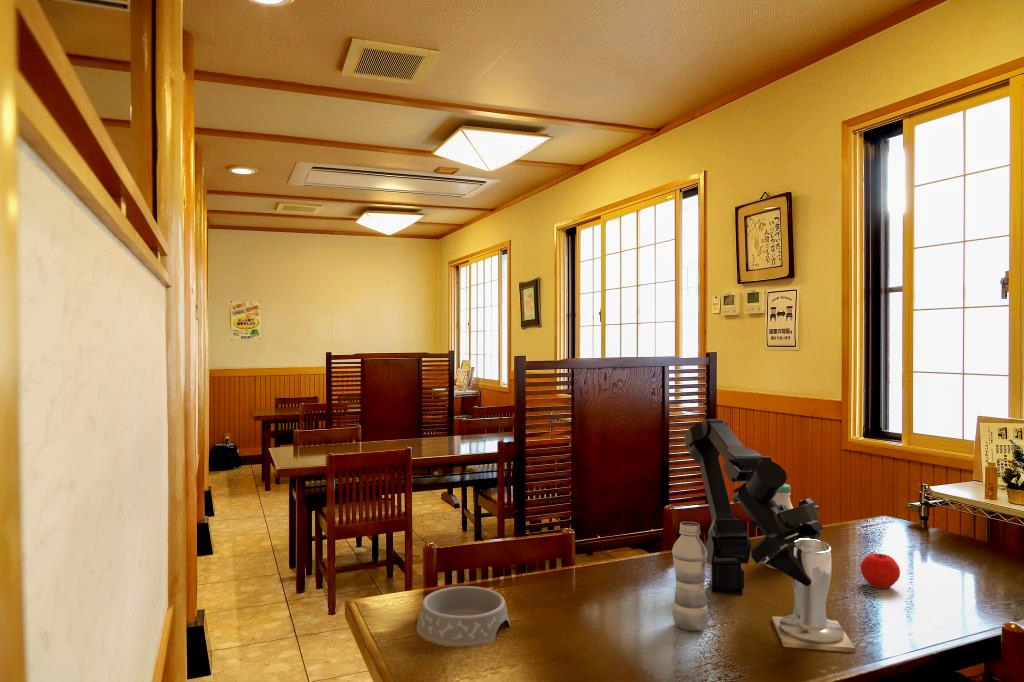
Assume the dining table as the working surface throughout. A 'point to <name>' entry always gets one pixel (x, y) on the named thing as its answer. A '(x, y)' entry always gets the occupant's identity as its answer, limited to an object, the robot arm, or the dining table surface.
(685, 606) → the plastic bottle
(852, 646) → the base plate
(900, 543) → the dining table surface
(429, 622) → the dog bowl
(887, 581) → the apple
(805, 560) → the beer glass
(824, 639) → the flange
